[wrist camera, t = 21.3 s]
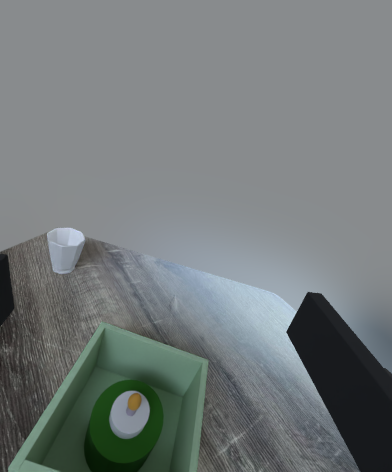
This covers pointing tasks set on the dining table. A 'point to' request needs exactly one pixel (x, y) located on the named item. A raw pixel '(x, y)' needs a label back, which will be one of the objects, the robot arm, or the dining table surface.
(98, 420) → the candle
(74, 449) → the bin
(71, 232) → the cup
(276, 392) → the dining table surface
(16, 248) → the dining table surface
